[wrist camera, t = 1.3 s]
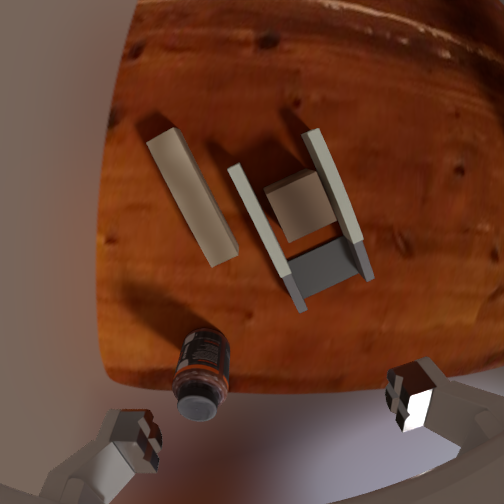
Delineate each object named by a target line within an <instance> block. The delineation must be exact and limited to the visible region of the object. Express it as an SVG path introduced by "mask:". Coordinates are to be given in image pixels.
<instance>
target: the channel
mask: <svg viewBox="0 0 504 504" xmlns="http://www.w3.org/2000/svg"><path fill="white" fill-rule="evenodd" d="M301 136H302V138H303V140H304V143H305V145H306V147H307V149H308V151H309V153H310V156H311V158H312V160H313V162H314V165H315V167H316V169H317V171H318V174H319V176H320V178H321V181H322V183H323V185H324V188H325V190H326V192H327V195H328V197H329V200H330V202H331V204H332V207H333V209H334V212H335V214H336V217H337V219H338V222H339V224H340V227H341V230H342V232H343V236H341V237H339V238H336V239H334V240H332V241H330V242H328V243H326V244H324V245H321V246H319V247H317V248H315V249H313V250H311V251H309V252H306V253H304V254H302V255H300V256H298V257H296V258H293V259H291V260H289V261H287V260H286V258H285V256H284V253H283V251H282V249H281V247H280V245H279V243H278V241H277V239H276V237H275V234H274V232H273V230H272V228H271V226H270V224H269V222H268V220H267V218H266V216H265V214H264V211H263V209H262V207H261V205H260V203H259V201H258V199H257V197H256V195H255V193H254V191H253V189H252V187H251V185H250V183H249V181H248V179H247V177H246V175H245V173H244V170H243V168H242V166H241V164H240V162H239V163H237V164H235V165H233V166H231V167H229V168H228V169H227V170H228V172H229V174H230V176H231V178H232V180H233V182H234V184H235V186H236V188H237V190H238V192H239V194H240V196H241V198H242V200H243V202H244V204H245V206H246V208H247V210H248V212H249V214H250V216H251V218H252V220H253V222H254V224H255V226H256V228H257V230H258V232H259V234H260V237H261V239H262V241H263V243H264V245H265V247H266V249H267V251H268V253H269V255H270V257H271V259H272V261H273V263H274V265H275V267H276V269H277V271H278V273H279V275H280V277H281V278H282V279H283V281H284V283H285V285H286V287H287V289H288V291H289V293H290V295H291V297H292V299H293V301H294V304H295V306H296V308H297V310H298V312H299V313H302V312H304V311H306V310H308V309H307V307H306V304H305V301H304V298H306V297H309V296H311V295H313V294H315V293H317V292H320V291H322V290H324V289H326V288H328V287H330V286H332V285H335V284H337V283H339V282H341V281H343V280H345V279H347V278H349V277H351V276H353V275H356V274H358V273H360V275H361V276H362V277H363V278H364V279H365V280H366V282H368V281H370V280H372V279H374V278H375V277H374V274H373V271H372V268H371V265H370V262H369V259H368V256H367V253H366V250H365V248H364V245H363V242H362V240H363V236H362V233H361V230H360V227H359V225H358V222H357V219H356V217H355V214H354V211H353V209H352V206H351V203H350V201H349V198H348V196H347V193H346V191H345V188H344V186H343V183H342V181H341V178H340V176H339V174H338V171H337V169H336V166H335V164H334V162H333V159H332V157H331V155H330V152H329V150H328V148H327V146H326V143H325V141H324V139H323V137H322V134H321V132H320V130H319V128H317V129H313V130H310V131H308V132H305V133H303V134H301Z"/></svg>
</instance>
